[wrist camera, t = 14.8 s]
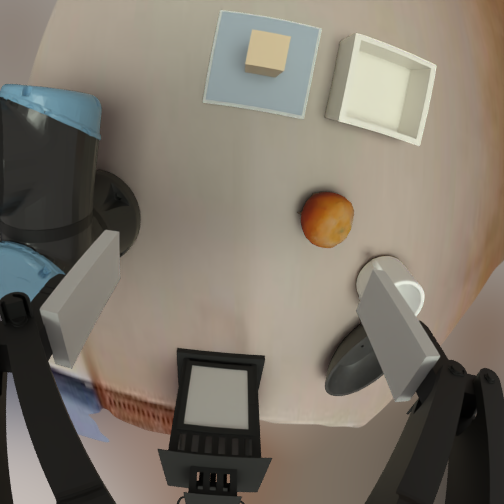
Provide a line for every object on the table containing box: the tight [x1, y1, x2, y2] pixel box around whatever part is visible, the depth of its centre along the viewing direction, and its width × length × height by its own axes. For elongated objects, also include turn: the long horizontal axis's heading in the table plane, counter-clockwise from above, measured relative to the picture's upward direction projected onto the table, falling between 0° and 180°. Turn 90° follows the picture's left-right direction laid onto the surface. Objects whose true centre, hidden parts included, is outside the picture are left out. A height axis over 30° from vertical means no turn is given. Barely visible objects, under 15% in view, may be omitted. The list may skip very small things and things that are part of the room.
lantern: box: [158, 348, 272, 504], centre depth 49 cm, size 17×17×35 cm
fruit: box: [297, 192, 354, 248], centre depth 45 cm, size 8×8×8 cm
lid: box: [206, 12, 319, 116], centre depth 32 cm, size 13×13×11 cm
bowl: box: [325, 324, 384, 396], centre depth 58 cm, size 12×22×6 cm, turn 148°
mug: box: [356, 256, 424, 316], centre depth 49 cm, size 12×10×9 cm
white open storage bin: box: [325, 33, 437, 146], centre depth 36 cm, size 12×12×7 cm
